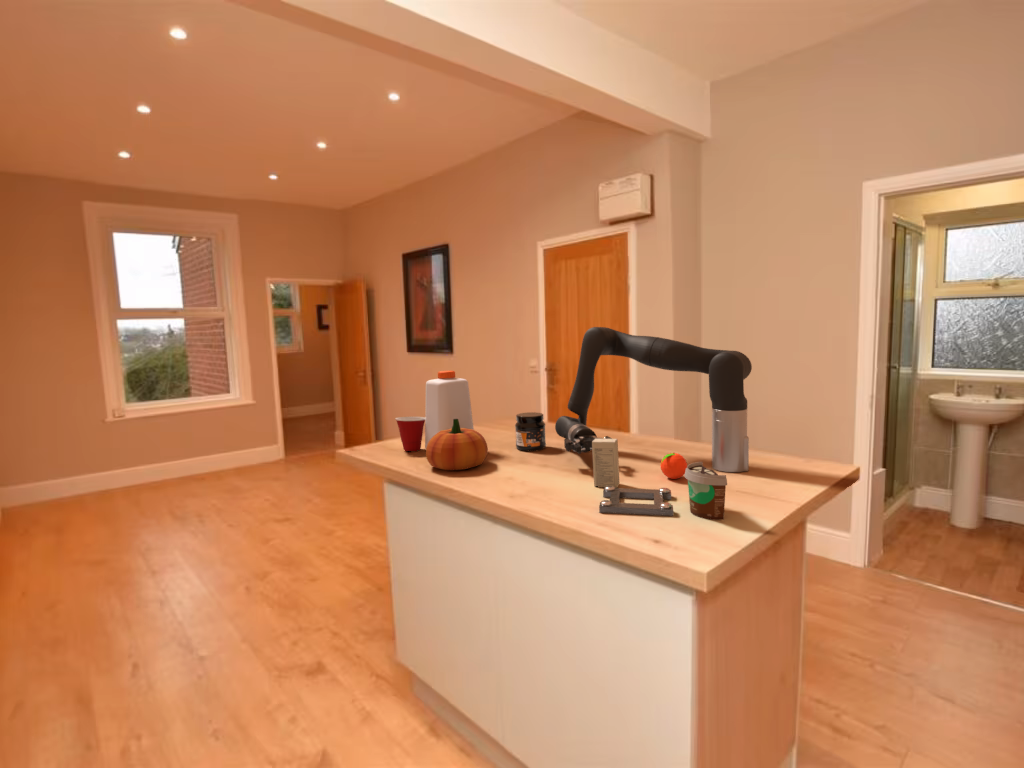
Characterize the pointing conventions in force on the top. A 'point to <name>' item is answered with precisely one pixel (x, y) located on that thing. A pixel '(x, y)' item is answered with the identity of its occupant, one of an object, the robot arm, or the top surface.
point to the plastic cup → (411, 432)
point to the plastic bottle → (446, 404)
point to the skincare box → (605, 462)
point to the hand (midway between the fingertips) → (595, 449)
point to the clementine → (673, 465)
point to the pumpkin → (456, 448)
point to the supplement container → (530, 431)
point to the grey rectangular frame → (637, 509)
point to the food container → (706, 491)
